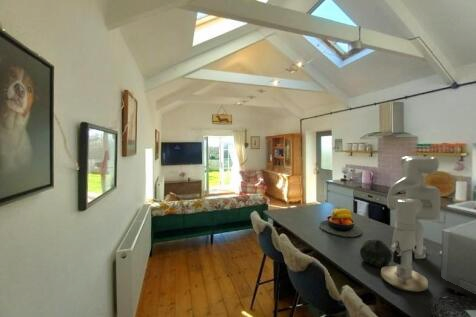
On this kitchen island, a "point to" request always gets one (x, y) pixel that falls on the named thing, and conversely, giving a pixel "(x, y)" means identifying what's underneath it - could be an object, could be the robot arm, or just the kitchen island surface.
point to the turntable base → (403, 289)
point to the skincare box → (405, 263)
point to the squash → (376, 253)
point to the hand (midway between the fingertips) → (403, 261)
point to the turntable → (404, 279)
